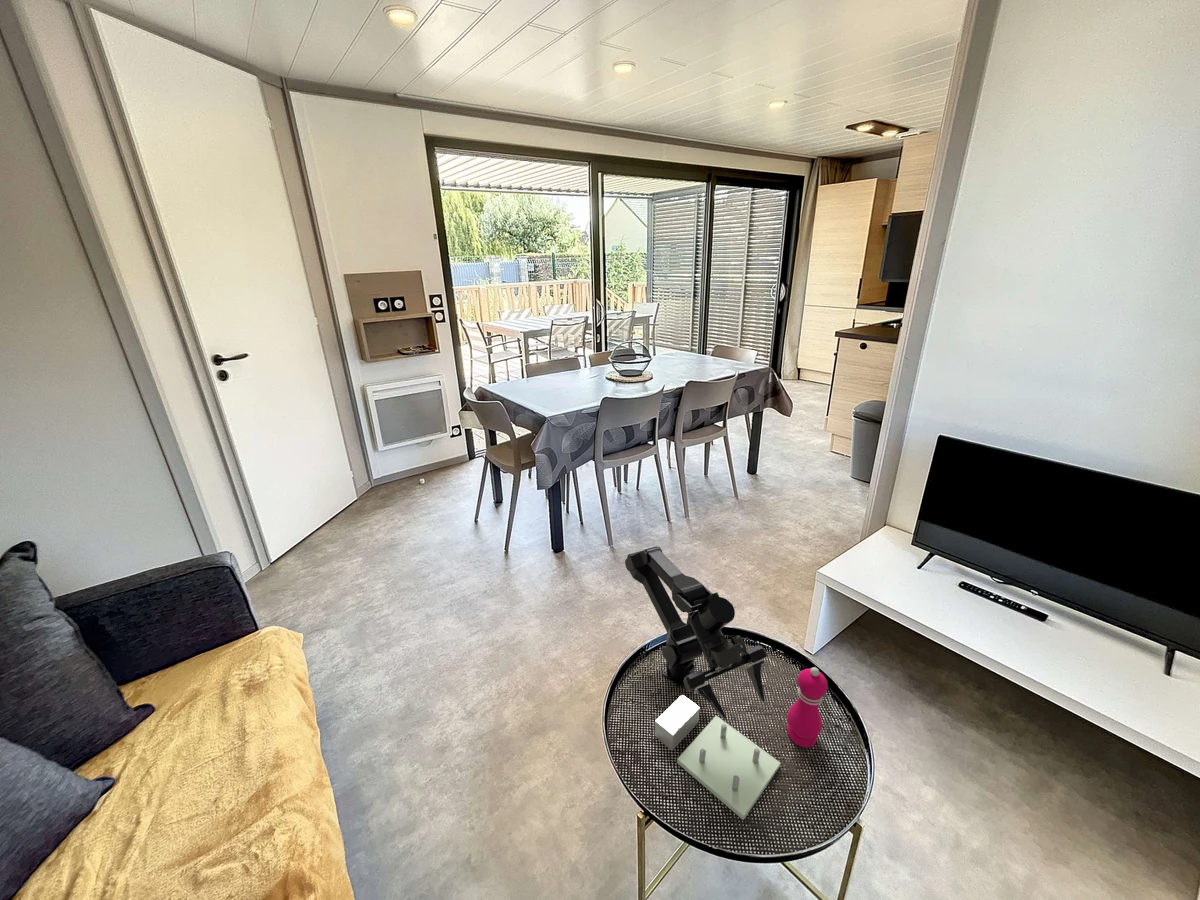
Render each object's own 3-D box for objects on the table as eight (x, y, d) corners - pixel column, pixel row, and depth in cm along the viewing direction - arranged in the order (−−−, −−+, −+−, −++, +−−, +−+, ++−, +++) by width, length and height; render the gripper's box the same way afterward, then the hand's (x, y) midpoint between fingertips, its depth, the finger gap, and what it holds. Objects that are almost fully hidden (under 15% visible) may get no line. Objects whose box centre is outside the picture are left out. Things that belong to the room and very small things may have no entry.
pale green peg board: (676, 762, 103) (678, 749, 102) (715, 719, 113) (717, 706, 111) (743, 820, 93) (745, 806, 91) (779, 766, 102) (782, 753, 101)
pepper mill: (824, 748, 106) (841, 681, 99) (793, 751, 106) (807, 683, 98) (809, 719, 113) (823, 654, 105) (779, 721, 112) (791, 656, 105)
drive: (671, 751, 106) (672, 735, 104) (654, 736, 109) (655, 720, 108) (699, 721, 113) (700, 706, 111) (682, 708, 116) (683, 693, 114)
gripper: (677, 645, 100) (712, 725, 92) (755, 613, 103) (795, 688, 95) (671, 654, 109) (702, 728, 101) (742, 625, 113) (778, 694, 105)
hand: (744, 710), depth 100 cm, fingers open, 9 cm apart
